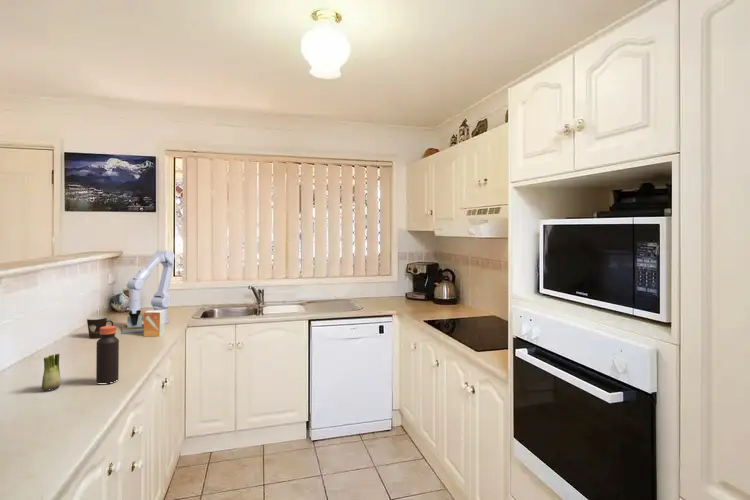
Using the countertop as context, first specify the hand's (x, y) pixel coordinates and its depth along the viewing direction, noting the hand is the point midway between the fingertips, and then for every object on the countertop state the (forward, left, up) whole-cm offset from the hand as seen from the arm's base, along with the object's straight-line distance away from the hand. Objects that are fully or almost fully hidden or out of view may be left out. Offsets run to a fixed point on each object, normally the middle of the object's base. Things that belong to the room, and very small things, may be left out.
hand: (134, 324), depth 231 cm
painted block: (0, 0, -2) cm, 2 cm away
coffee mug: (+18, -15, -2) cm, 23 cm away
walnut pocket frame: (0, 0, -2) cm, 2 cm away
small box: (+23, +10, -2) cm, 25 cm away
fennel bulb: (+94, -20, -2) cm, 96 cm away
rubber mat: (+9, 0, -2) cm, 9 cm away
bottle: (+93, -4, -2) cm, 93 cm away
